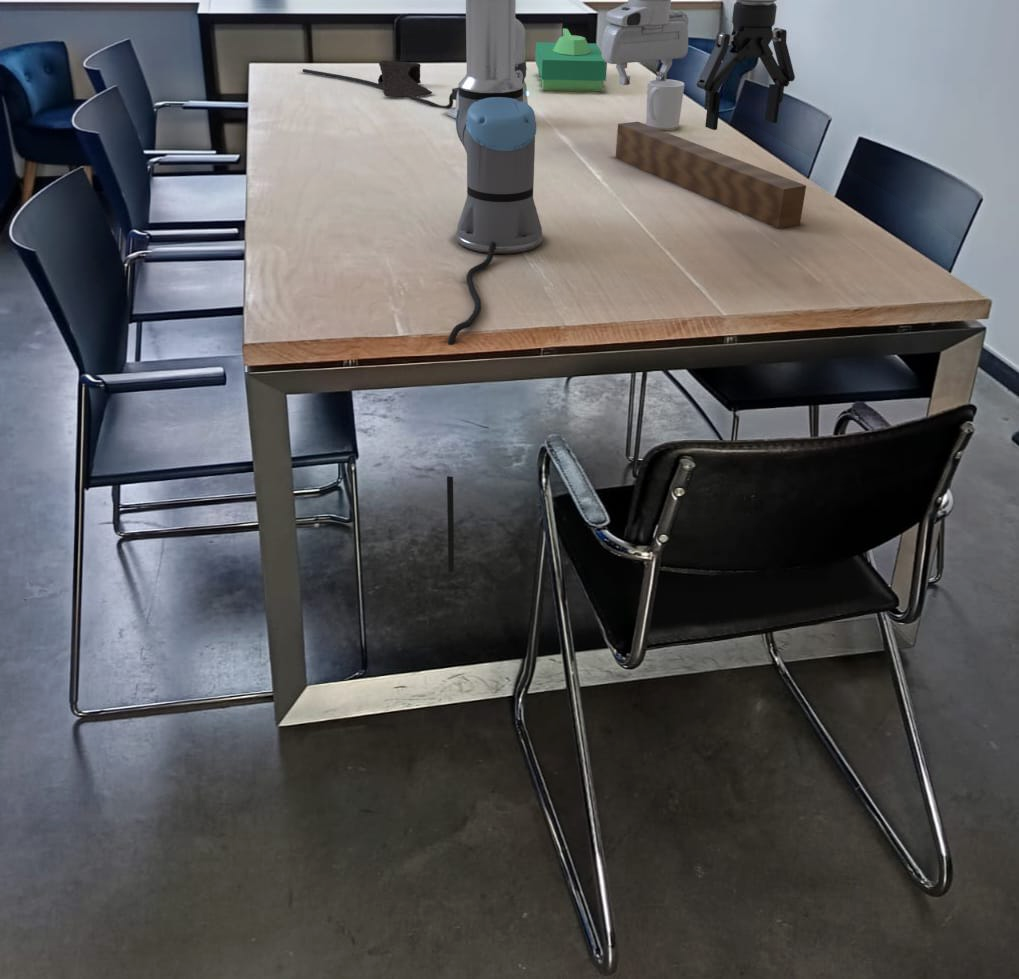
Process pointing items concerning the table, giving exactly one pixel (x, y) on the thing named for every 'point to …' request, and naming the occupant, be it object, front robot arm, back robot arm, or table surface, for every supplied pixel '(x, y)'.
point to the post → (712, 174)
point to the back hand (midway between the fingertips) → (642, 82)
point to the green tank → (570, 64)
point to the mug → (664, 104)
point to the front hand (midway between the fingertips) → (741, 125)
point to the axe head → (401, 79)
